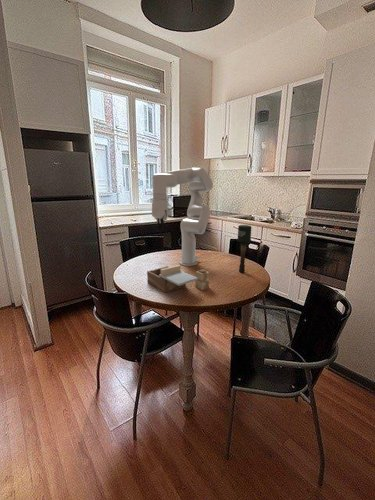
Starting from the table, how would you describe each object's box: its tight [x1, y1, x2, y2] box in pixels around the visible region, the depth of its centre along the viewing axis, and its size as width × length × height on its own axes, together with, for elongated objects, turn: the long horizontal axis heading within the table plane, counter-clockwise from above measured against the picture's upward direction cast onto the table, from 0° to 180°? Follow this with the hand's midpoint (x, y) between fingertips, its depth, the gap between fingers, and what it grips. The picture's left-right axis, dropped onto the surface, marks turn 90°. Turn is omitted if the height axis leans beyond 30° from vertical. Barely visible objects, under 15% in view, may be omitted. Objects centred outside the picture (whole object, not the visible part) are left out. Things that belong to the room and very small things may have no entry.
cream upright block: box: [195, 268, 210, 291], centre depth 137 cm, size 5×5×10 cm
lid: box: [159, 264, 198, 286], centre depth 131 cm, size 13×16×4 cm
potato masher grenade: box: [236, 224, 253, 274], centre depth 157 cm, size 8×9×30 cm
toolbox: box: [146, 266, 187, 294], centre depth 140 cm, size 14×17×7 cm
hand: (160, 229), depth 144 cm, fingers closed
